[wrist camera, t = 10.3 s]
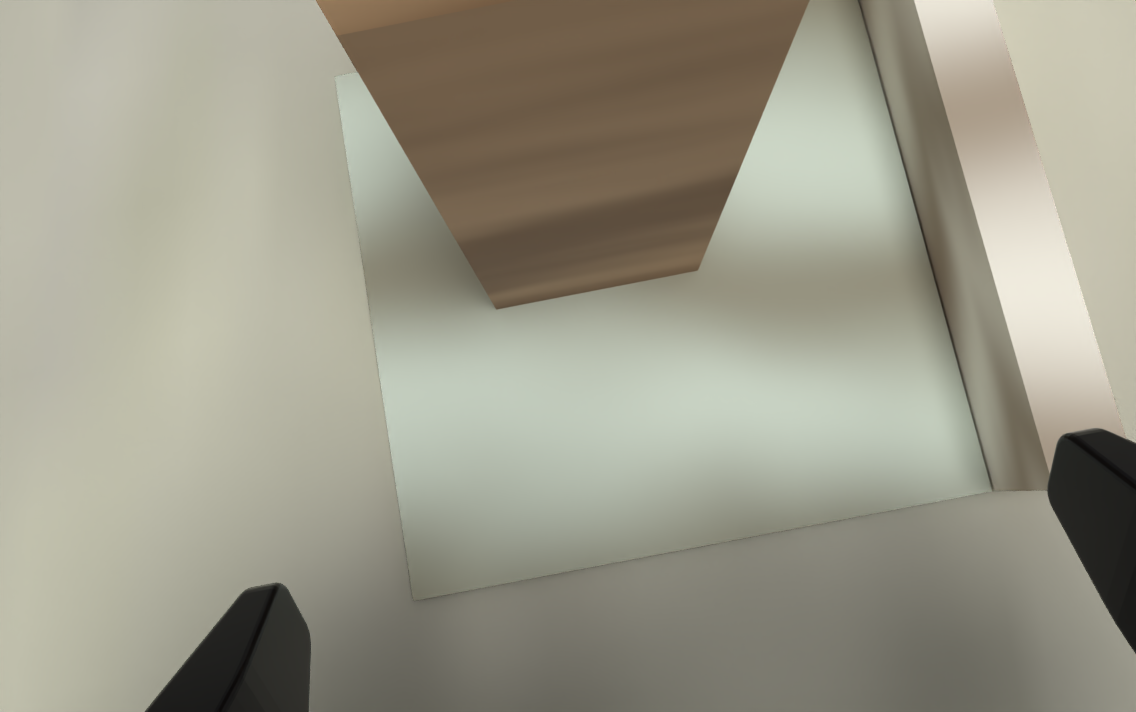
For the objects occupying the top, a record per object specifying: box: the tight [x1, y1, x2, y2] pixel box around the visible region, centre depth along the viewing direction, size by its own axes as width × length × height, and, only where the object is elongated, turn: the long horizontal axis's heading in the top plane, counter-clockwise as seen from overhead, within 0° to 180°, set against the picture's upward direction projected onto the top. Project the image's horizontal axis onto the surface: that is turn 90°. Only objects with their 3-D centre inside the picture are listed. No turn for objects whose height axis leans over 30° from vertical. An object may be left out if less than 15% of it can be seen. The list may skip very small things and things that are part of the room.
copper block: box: [316, 0, 810, 310], centre depth 13 cm, size 4×4×12 cm
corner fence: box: [335, 0, 1126, 601], centre depth 17 cm, size 14×14×2 cm
